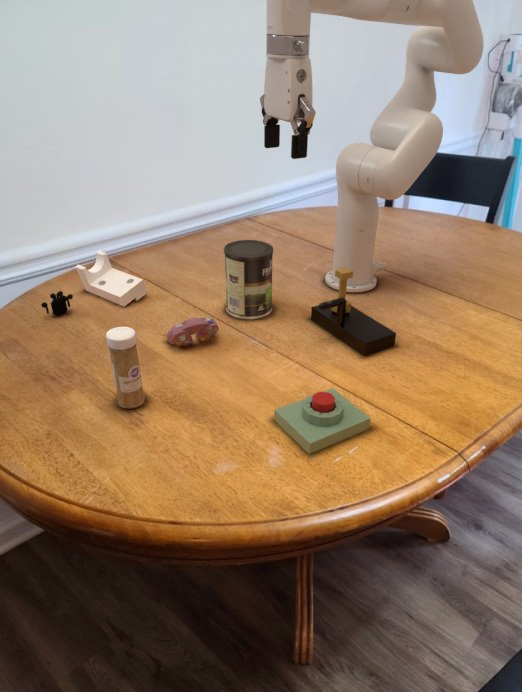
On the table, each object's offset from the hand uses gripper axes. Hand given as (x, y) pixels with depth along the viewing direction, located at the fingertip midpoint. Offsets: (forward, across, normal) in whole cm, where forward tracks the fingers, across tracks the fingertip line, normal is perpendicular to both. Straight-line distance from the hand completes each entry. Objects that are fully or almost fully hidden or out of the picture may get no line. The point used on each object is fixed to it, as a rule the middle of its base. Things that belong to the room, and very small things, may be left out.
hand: (285, 152), depth 108 cm
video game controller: (+33, -5, +24) cm, 41 cm away
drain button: (+29, -40, +17) cm, 52 cm away
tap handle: (+29, -13, -7) cm, 33 cm away
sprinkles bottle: (+33, -18, +41) cm, 56 cm away
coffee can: (+33, +2, +7) cm, 34 cm away
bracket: (+33, +24, +30) cm, 51 cm away
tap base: (+33, -17, -4) cm, 37 cm away
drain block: (+33, -40, +17) cm, 54 cm away
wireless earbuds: (+33, +20, +43) cm, 58 cm away
